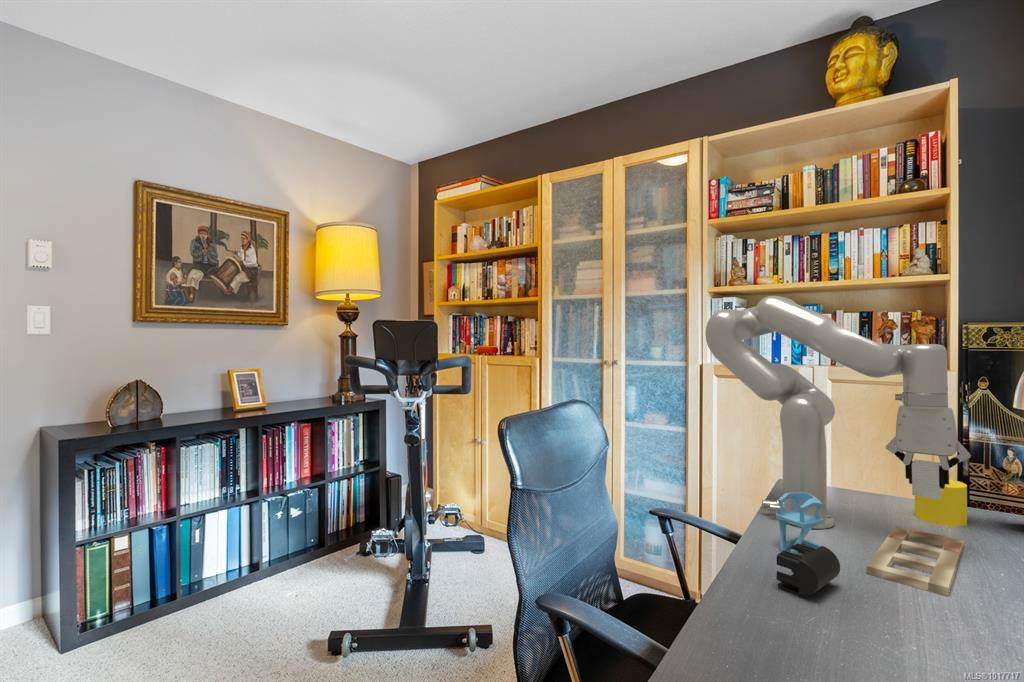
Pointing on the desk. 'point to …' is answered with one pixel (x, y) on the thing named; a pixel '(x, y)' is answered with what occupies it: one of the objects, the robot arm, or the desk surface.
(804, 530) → the chair
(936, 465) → the steel block
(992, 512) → the desk surface
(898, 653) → the desk surface
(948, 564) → the hole rail
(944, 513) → the tape roll
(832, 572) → the power tool battery
